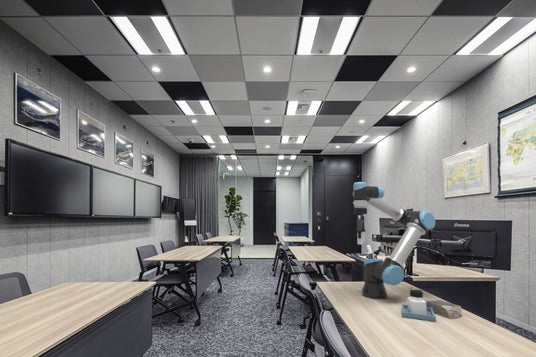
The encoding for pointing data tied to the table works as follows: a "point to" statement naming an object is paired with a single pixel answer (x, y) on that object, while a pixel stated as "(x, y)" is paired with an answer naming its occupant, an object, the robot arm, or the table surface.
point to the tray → (428, 317)
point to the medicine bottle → (417, 302)
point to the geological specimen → (445, 309)
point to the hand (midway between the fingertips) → (361, 243)
